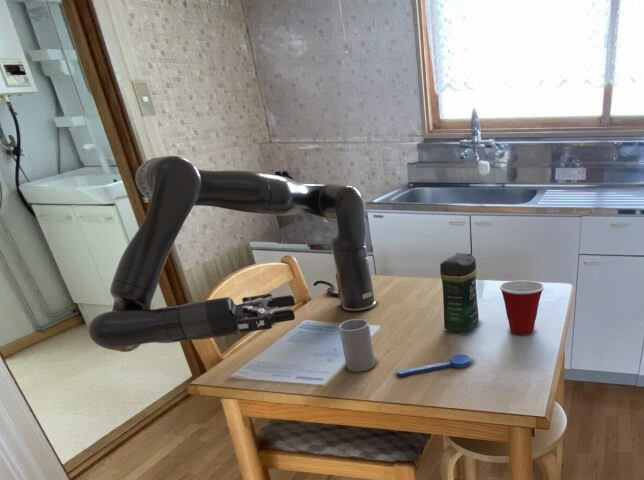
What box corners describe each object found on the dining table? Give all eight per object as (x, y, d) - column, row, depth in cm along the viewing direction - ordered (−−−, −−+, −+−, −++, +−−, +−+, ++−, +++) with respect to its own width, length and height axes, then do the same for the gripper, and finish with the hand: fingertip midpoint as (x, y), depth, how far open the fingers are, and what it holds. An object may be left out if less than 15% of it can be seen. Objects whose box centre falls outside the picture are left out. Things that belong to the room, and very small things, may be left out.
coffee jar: (469, 336, 128) (464, 263, 119) (440, 332, 131) (433, 260, 122) (483, 321, 136) (480, 251, 127) (456, 318, 139) (450, 249, 129)
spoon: (399, 379, 111) (398, 375, 110) (396, 370, 115) (395, 366, 114) (473, 365, 115) (473, 361, 114) (467, 357, 119) (467, 352, 118)
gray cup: (341, 366, 118) (332, 326, 113) (363, 356, 122) (356, 316, 117) (358, 374, 114) (350, 333, 109) (381, 363, 118) (374, 323, 113)
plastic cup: (548, 323, 133) (549, 278, 127) (538, 341, 124) (538, 293, 118) (507, 320, 136) (506, 275, 130) (495, 337, 127) (493, 290, 121)
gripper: (198, 314, 95) (290, 301, 99) (209, 289, 107) (290, 279, 111) (211, 350, 99) (298, 336, 103) (219, 323, 111) (298, 311, 115)
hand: (294, 306), depth 107 cm, fingers open, 8 cm apart
